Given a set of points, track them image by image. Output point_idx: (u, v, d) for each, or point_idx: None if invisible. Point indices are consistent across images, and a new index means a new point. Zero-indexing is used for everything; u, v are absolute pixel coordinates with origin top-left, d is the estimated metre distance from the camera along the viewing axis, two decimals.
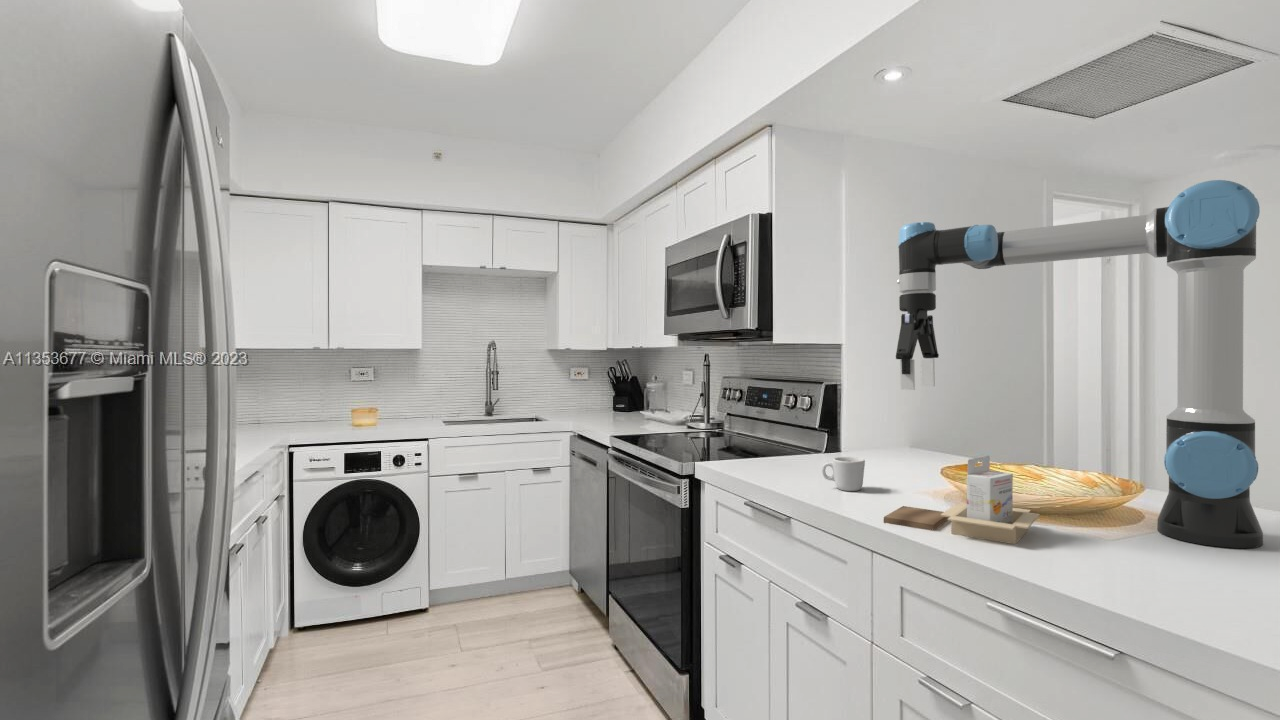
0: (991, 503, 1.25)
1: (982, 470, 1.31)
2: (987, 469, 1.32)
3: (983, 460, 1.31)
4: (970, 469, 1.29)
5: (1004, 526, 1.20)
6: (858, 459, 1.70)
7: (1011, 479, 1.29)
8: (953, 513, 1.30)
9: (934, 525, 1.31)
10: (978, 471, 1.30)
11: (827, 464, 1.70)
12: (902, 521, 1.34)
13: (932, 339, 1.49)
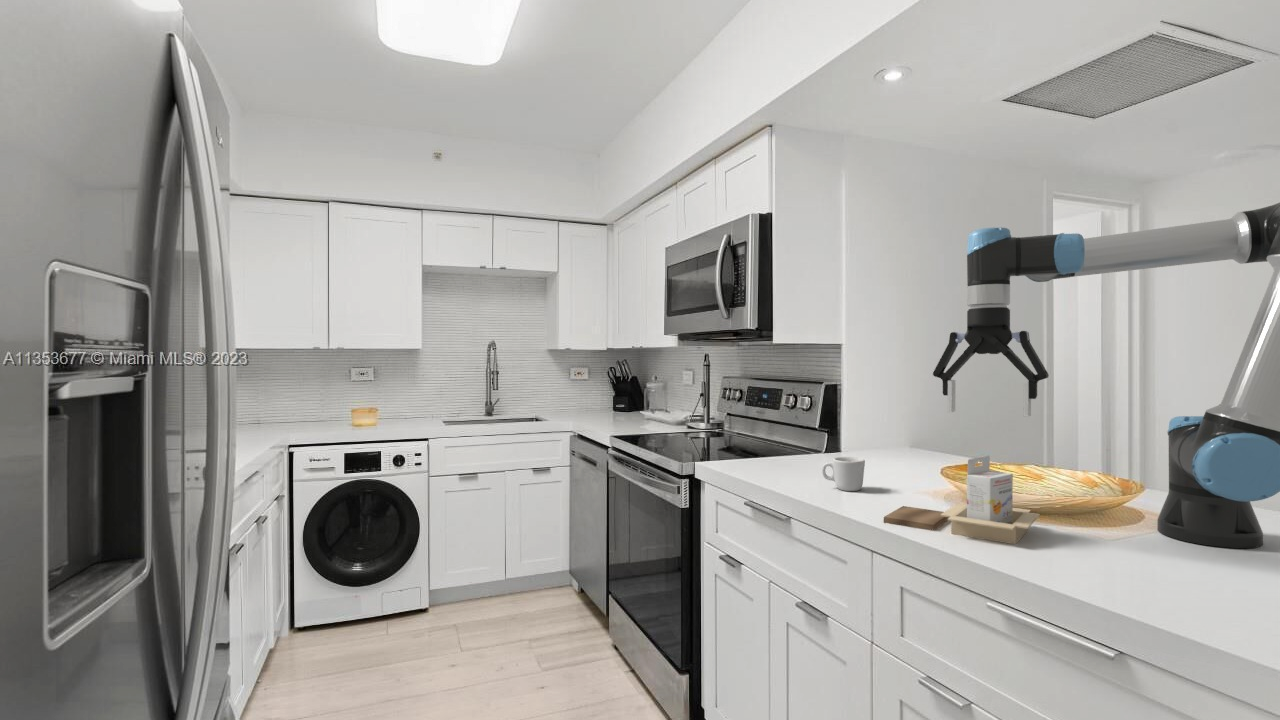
0: (991, 503, 1.25)
1: (982, 470, 1.31)
2: (987, 469, 1.32)
3: (983, 460, 1.31)
4: (970, 469, 1.29)
5: (1004, 526, 1.20)
6: (858, 459, 1.70)
7: (1011, 479, 1.29)
8: (953, 513, 1.30)
9: (934, 525, 1.31)
10: (978, 471, 1.30)
11: (827, 464, 1.70)
12: (902, 521, 1.34)
13: (1029, 359, 1.23)
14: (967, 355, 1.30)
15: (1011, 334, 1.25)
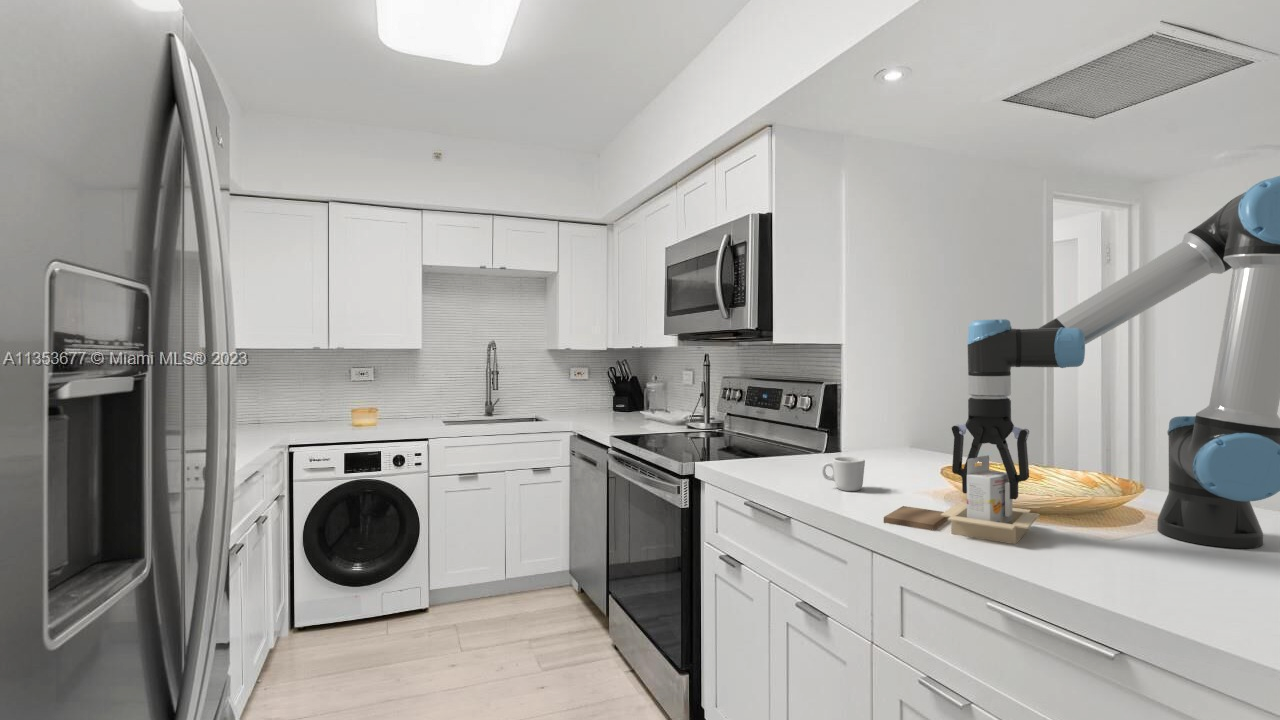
0: (991, 503, 1.25)
1: (982, 470, 1.31)
2: (987, 469, 1.32)
3: (983, 460, 1.31)
4: (970, 469, 1.29)
5: (1004, 526, 1.20)
6: (858, 459, 1.70)
7: None
8: (953, 513, 1.30)
9: (934, 525, 1.31)
10: (978, 471, 1.30)
11: (827, 464, 1.70)
12: (902, 521, 1.34)
13: None
14: (976, 447, 1.29)
15: (1012, 428, 1.25)
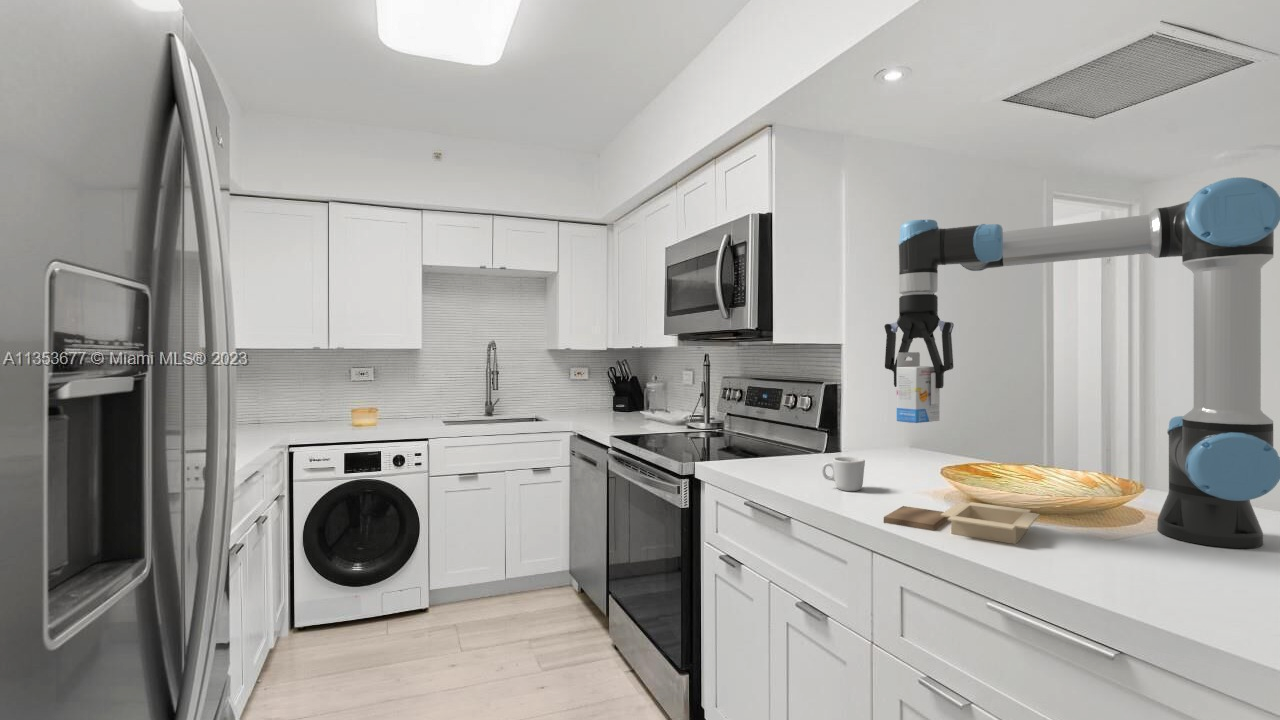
0: (917, 391, 1.33)
1: (912, 365, 1.40)
2: (917, 365, 1.41)
3: (913, 356, 1.40)
4: (900, 362, 1.37)
5: (1004, 526, 1.20)
6: (858, 459, 1.70)
7: None
8: (953, 513, 1.30)
9: (934, 525, 1.31)
10: (908, 365, 1.39)
11: (827, 464, 1.70)
12: (902, 521, 1.34)
13: None
14: (906, 342, 1.37)
15: (938, 321, 1.34)
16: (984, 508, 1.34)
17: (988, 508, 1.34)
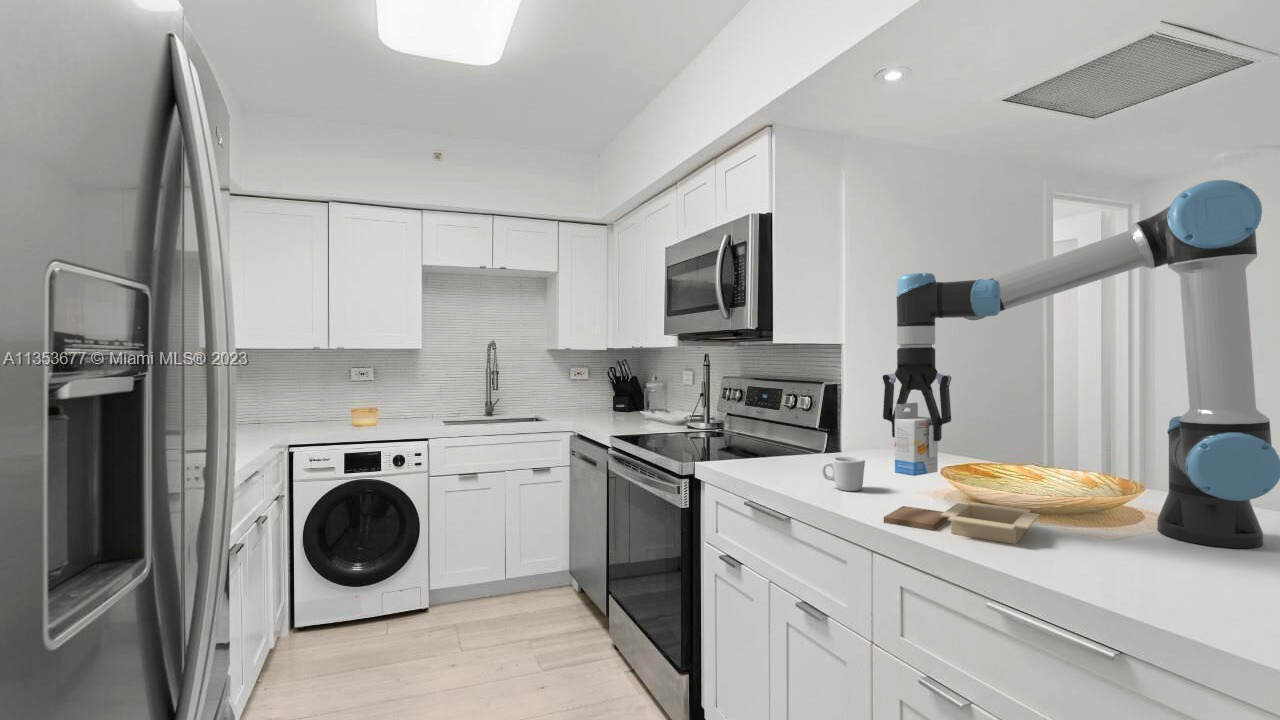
0: (915, 444, 1.34)
1: (910, 416, 1.40)
2: (915, 415, 1.41)
3: (911, 406, 1.40)
4: (898, 414, 1.38)
5: (1004, 526, 1.20)
6: (858, 459, 1.70)
7: None
8: (953, 513, 1.30)
9: (934, 525, 1.31)
10: (906, 416, 1.39)
11: (827, 464, 1.70)
12: (902, 521, 1.34)
13: None
14: (904, 394, 1.38)
15: (936, 374, 1.34)
16: (984, 508, 1.34)
17: (988, 508, 1.34)
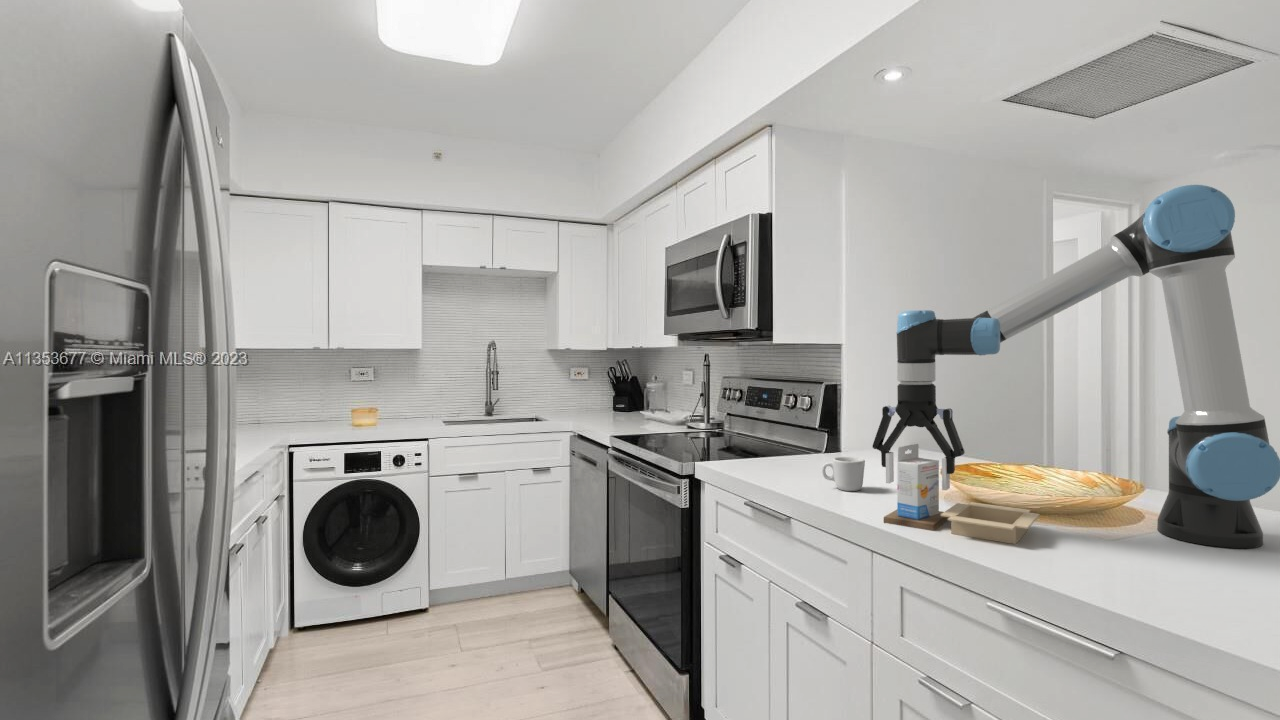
0: (918, 488, 1.33)
1: (911, 457, 1.40)
2: (916, 456, 1.41)
3: (913, 448, 1.40)
4: (900, 456, 1.37)
5: (1004, 526, 1.20)
6: (858, 459, 1.70)
7: (937, 465, 1.38)
8: (953, 513, 1.30)
9: (934, 525, 1.31)
10: (908, 458, 1.39)
11: (827, 464, 1.70)
12: (902, 521, 1.34)
13: None
14: (899, 428, 1.39)
15: (936, 410, 1.34)
16: (984, 508, 1.34)
17: (988, 508, 1.34)
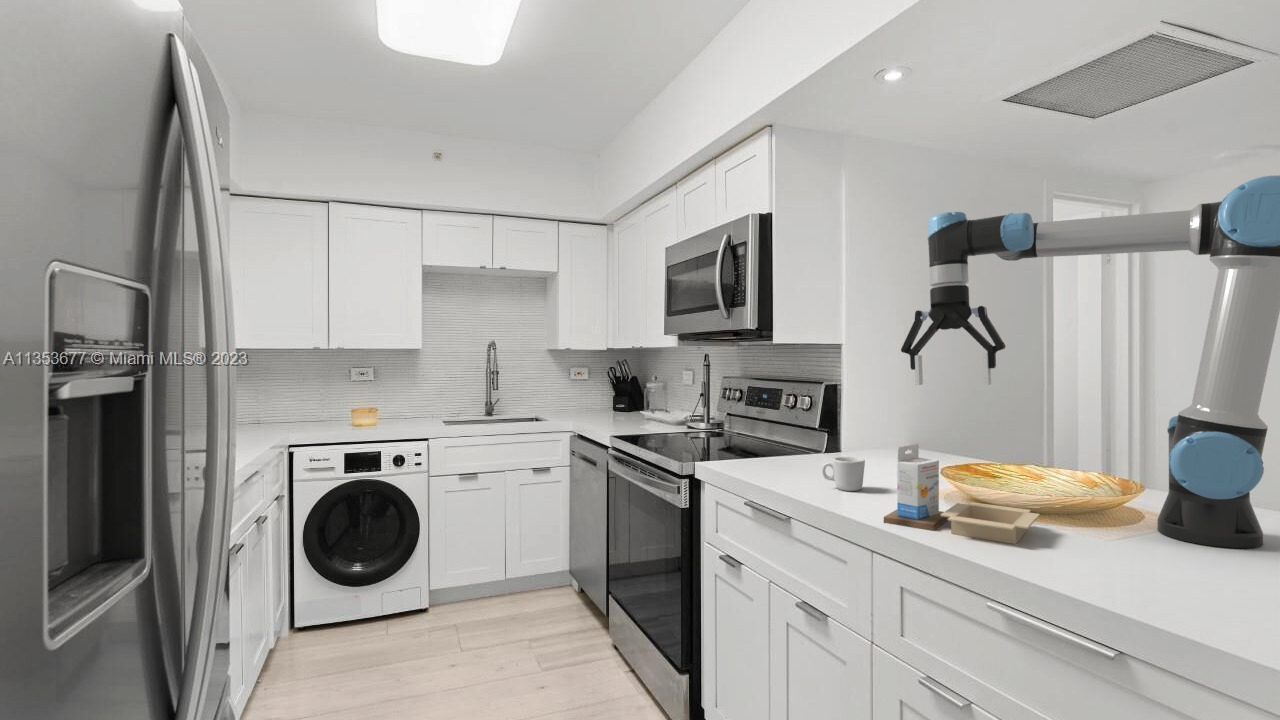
0: (918, 488, 1.33)
1: (911, 457, 1.40)
2: (916, 456, 1.41)
3: (913, 448, 1.40)
4: (900, 456, 1.37)
5: (1004, 526, 1.20)
6: (858, 459, 1.70)
7: (937, 465, 1.38)
8: (953, 513, 1.30)
9: (934, 525, 1.31)
10: (908, 458, 1.39)
11: (827, 464, 1.70)
12: (902, 521, 1.34)
13: None
14: (931, 331, 1.40)
15: (970, 310, 1.35)
16: (984, 508, 1.34)
17: (988, 508, 1.34)
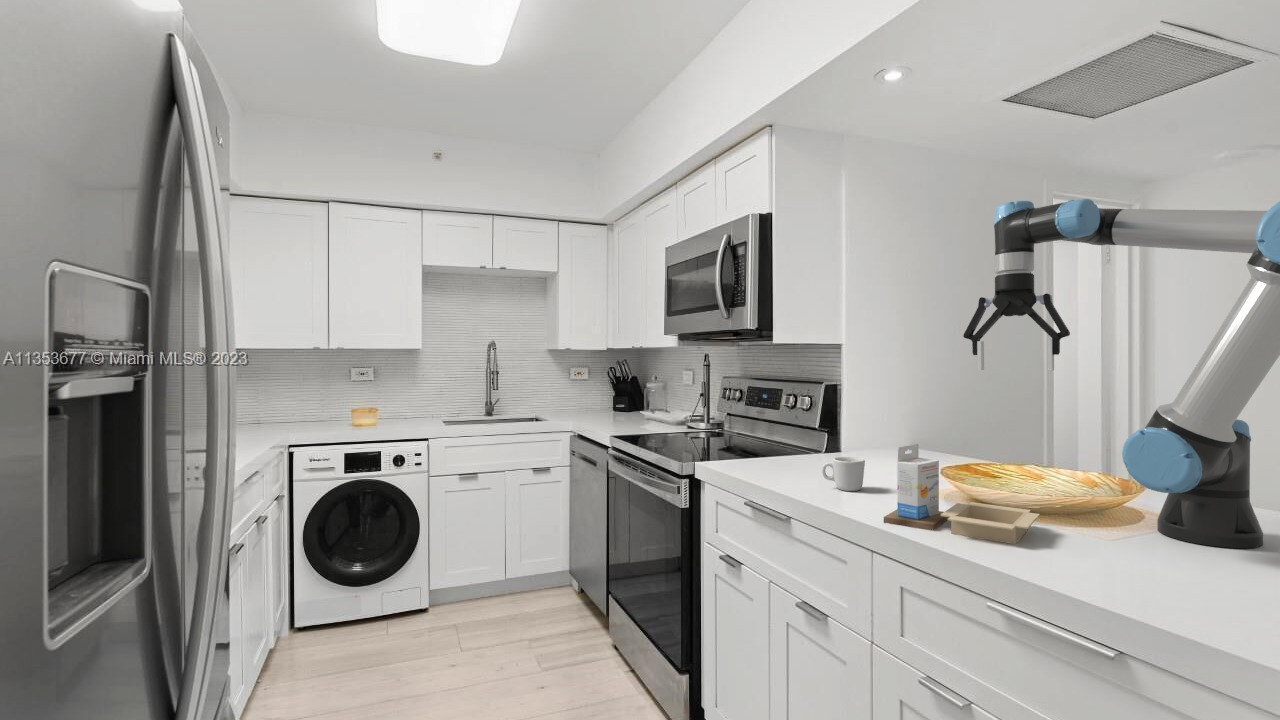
0: (918, 488, 1.33)
1: (911, 457, 1.40)
2: (916, 456, 1.41)
3: (913, 448, 1.40)
4: (900, 456, 1.37)
5: (1004, 526, 1.20)
6: (858, 459, 1.70)
7: (937, 465, 1.38)
8: (953, 513, 1.30)
9: (934, 525, 1.31)
10: (908, 458, 1.39)
11: (827, 464, 1.70)
12: (902, 521, 1.34)
13: (1053, 319, 1.36)
14: (995, 317, 1.43)
15: (1035, 297, 1.39)
16: (984, 508, 1.34)
17: (988, 508, 1.34)
